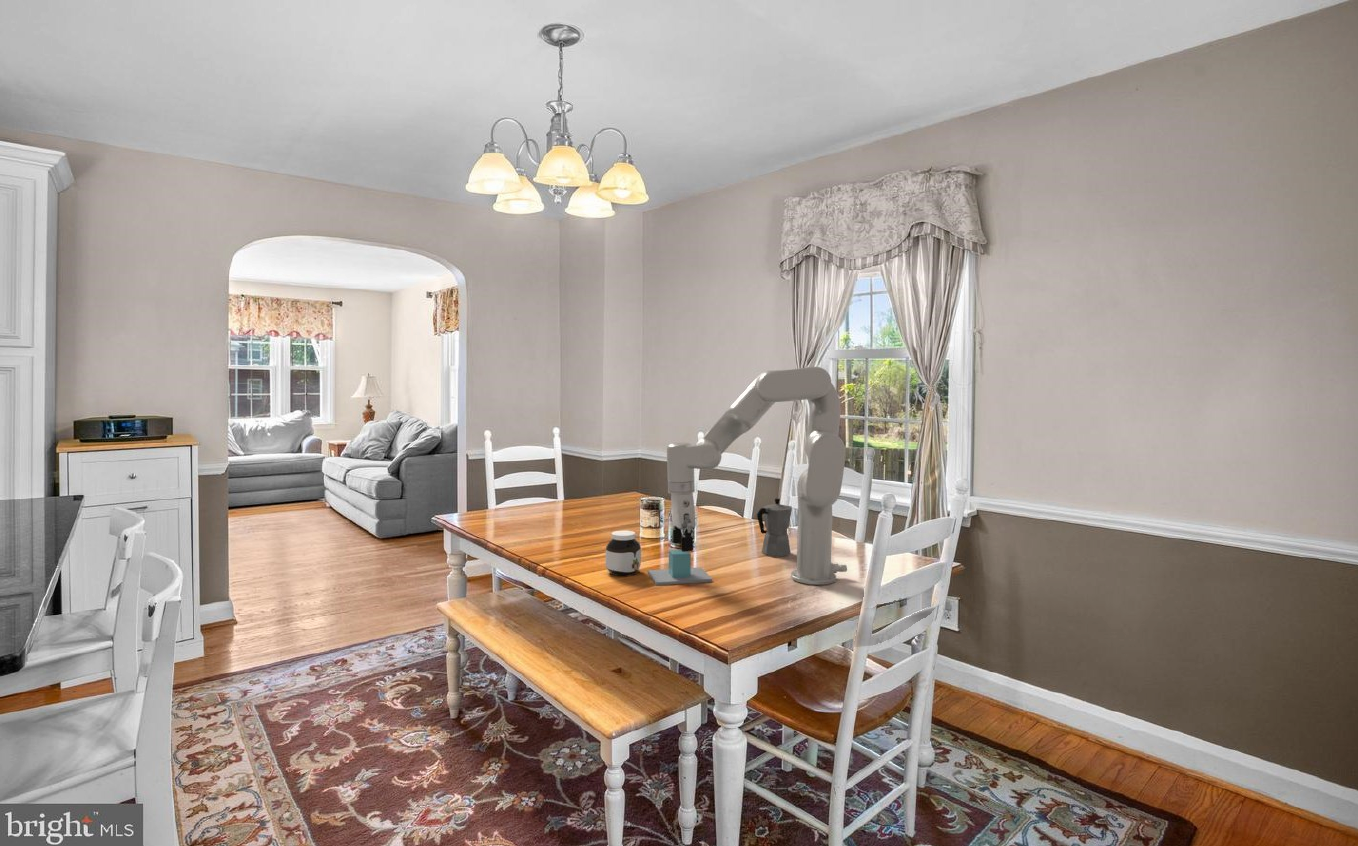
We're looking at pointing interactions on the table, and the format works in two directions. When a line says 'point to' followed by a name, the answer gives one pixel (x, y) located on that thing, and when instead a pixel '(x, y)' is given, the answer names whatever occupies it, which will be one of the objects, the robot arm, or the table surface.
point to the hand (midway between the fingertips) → (683, 546)
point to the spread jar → (623, 554)
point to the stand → (665, 578)
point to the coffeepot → (775, 529)
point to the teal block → (679, 563)
